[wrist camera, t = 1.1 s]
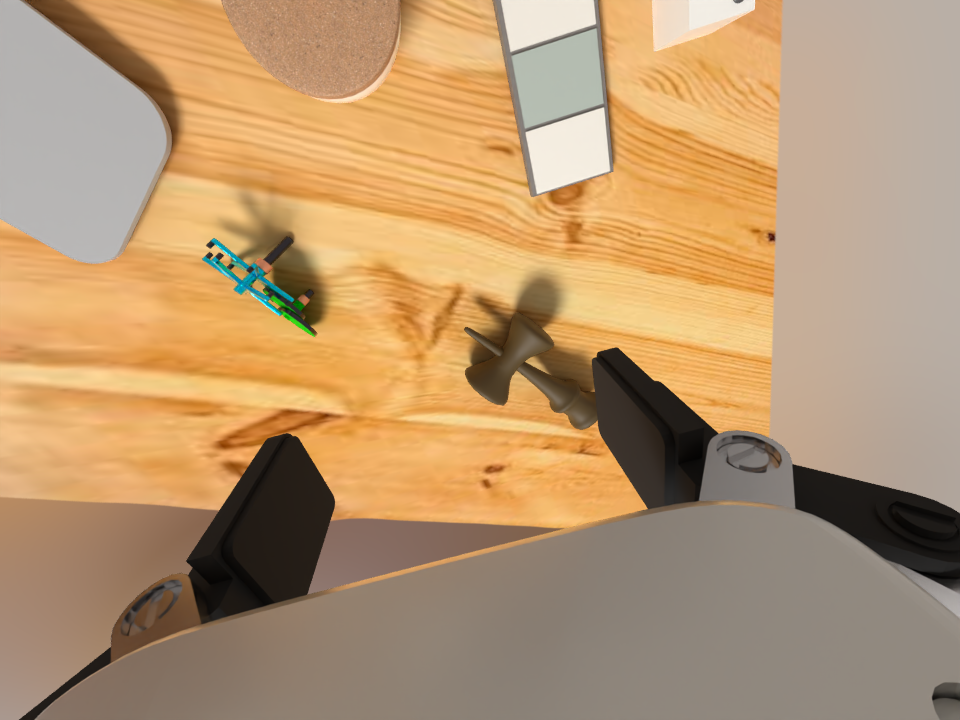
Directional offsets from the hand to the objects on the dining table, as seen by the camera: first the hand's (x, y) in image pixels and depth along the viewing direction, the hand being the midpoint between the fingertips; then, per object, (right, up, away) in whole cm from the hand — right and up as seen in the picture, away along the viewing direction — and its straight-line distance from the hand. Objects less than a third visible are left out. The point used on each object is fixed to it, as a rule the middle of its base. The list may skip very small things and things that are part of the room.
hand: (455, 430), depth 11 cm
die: (+18, +32, +19) cm, 41 cm away
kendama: (+7, +2, +33) cm, 34 cm away
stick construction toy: (-19, +11, +25) cm, 34 cm away
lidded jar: (-10, +28, +18) cm, 35 cm away
